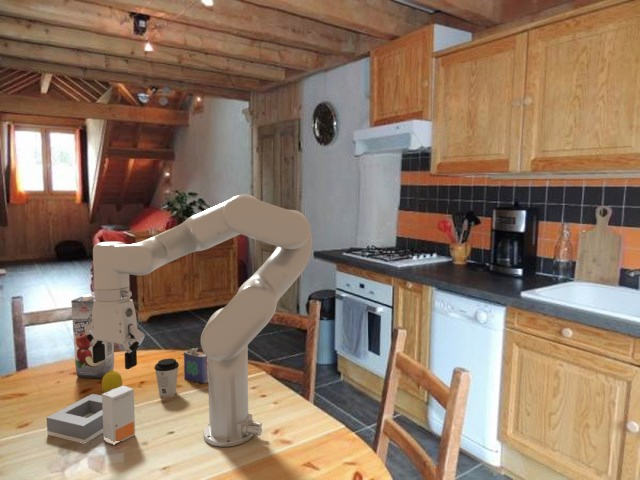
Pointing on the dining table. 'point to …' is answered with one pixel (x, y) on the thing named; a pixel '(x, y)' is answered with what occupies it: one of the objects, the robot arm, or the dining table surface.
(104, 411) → the skincare box
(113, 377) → the lemon
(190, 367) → the flask
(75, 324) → the juice carton
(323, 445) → the dining table surface
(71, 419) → the socket plate
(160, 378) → the coffee cup
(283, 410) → the dining table surface
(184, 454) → the dining table surface
